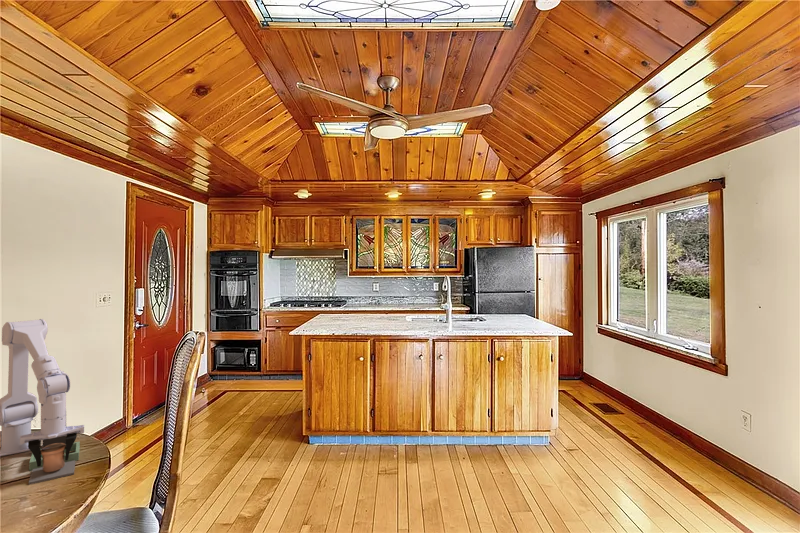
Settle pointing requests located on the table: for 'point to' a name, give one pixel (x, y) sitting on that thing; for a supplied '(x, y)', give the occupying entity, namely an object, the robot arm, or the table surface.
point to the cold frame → (71, 456)
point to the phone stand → (54, 440)
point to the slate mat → (52, 473)
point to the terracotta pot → (53, 457)
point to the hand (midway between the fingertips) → (53, 462)
